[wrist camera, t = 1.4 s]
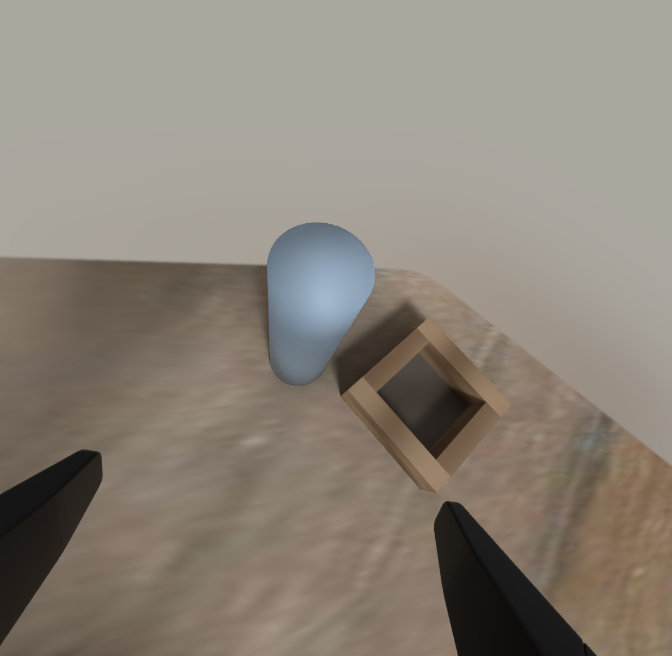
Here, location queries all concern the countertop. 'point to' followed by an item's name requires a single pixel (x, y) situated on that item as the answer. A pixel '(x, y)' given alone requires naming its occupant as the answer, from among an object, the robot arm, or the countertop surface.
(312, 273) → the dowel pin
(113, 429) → the countertop surface
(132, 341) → the countertop surface
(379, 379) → the socket block
